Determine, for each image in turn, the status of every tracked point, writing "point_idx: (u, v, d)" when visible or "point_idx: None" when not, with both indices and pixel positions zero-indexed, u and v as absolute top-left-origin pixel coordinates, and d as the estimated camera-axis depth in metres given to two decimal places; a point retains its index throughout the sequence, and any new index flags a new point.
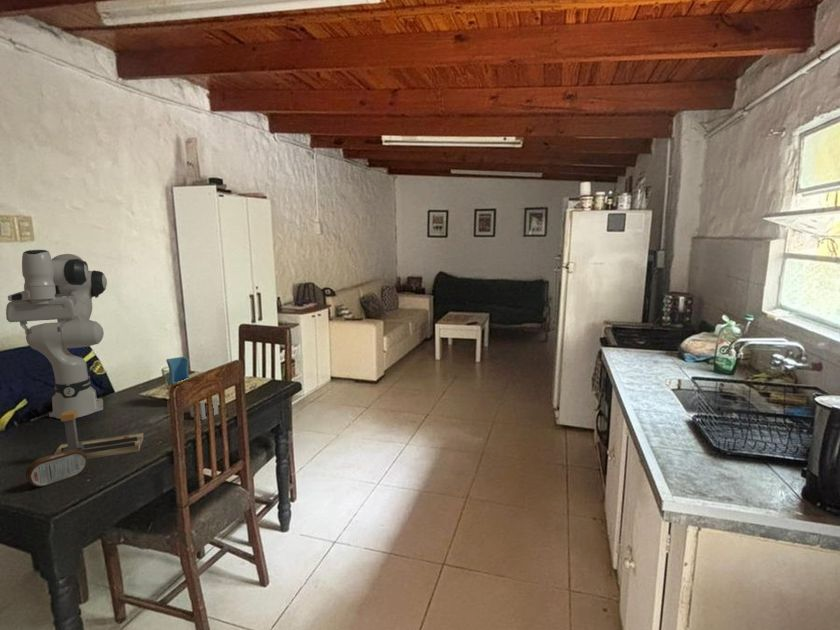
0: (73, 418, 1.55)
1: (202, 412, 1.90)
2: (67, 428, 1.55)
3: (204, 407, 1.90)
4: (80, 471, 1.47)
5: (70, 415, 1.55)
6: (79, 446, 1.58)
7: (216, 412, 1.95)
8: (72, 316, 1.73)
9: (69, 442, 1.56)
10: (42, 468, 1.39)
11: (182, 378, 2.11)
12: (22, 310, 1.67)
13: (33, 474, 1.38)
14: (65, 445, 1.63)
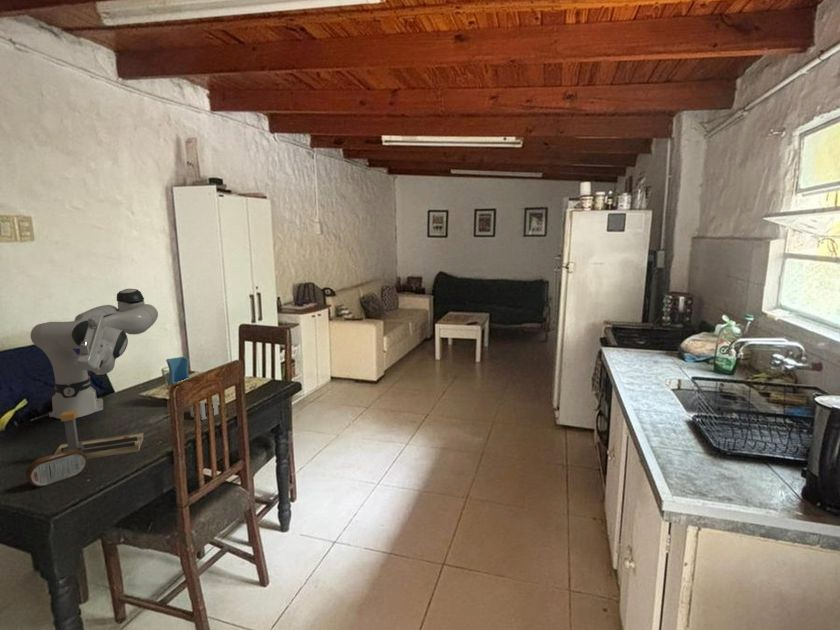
0: (73, 418, 1.55)
1: (202, 412, 1.90)
2: (67, 428, 1.55)
3: (204, 407, 1.90)
4: (80, 471, 1.47)
5: (70, 415, 1.55)
6: (79, 446, 1.58)
7: (216, 412, 1.95)
8: None
9: (69, 442, 1.56)
10: (42, 468, 1.39)
11: (182, 378, 2.11)
12: None
13: (33, 474, 1.38)
14: (65, 445, 1.63)
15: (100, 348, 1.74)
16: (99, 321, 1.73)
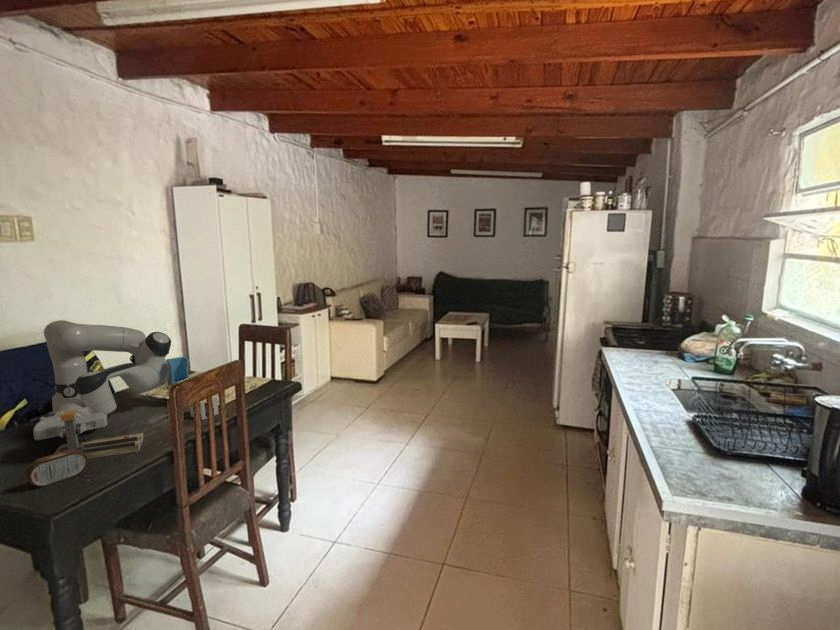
0: (73, 418, 1.55)
1: (202, 412, 1.90)
2: (67, 428, 1.55)
3: (204, 407, 1.90)
4: (80, 471, 1.47)
5: (70, 415, 1.55)
6: (79, 446, 1.58)
7: (216, 412, 1.95)
8: (103, 417, 1.66)
9: (69, 442, 1.56)
10: (42, 468, 1.39)
11: (182, 378, 2.11)
12: (52, 423, 1.60)
13: (33, 474, 1.38)
14: (65, 445, 1.63)
15: None
16: (96, 427, 1.64)
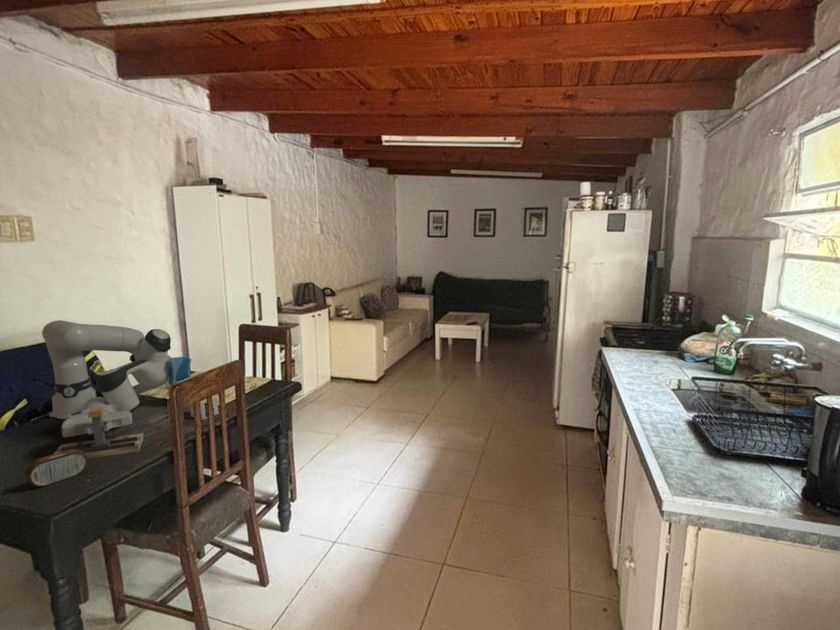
0: (100, 414, 1.58)
1: (202, 412, 1.90)
2: (94, 424, 1.58)
3: (204, 407, 1.90)
4: (80, 471, 1.47)
5: (98, 411, 1.57)
6: (106, 442, 1.61)
7: (216, 412, 1.95)
8: (129, 414, 1.68)
9: (96, 438, 1.59)
10: (42, 468, 1.39)
11: (183, 378, 2.11)
12: (79, 421, 1.62)
13: (33, 474, 1.38)
14: (65, 445, 1.63)
15: None
16: (122, 425, 1.67)
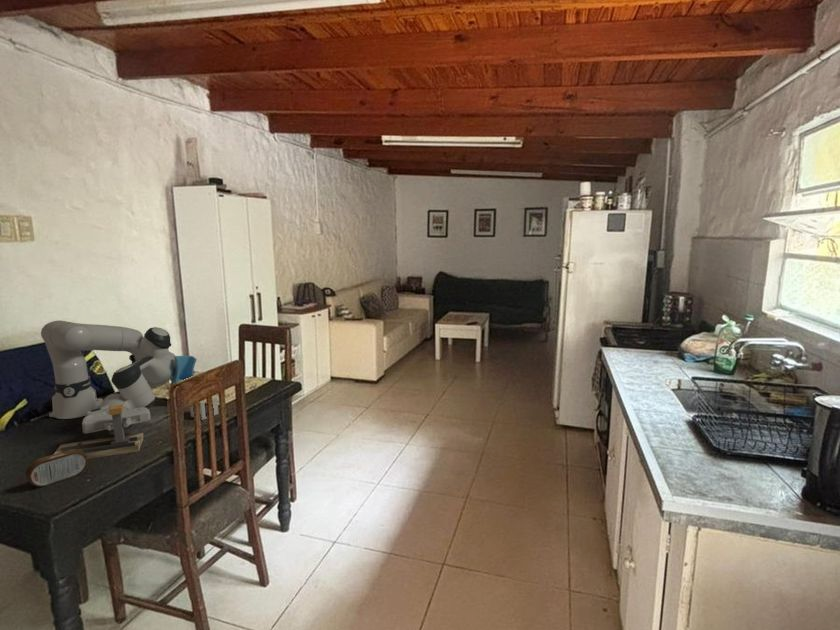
0: (120, 412, 1.60)
1: (202, 412, 1.90)
2: (115, 422, 1.60)
3: (204, 407, 1.90)
4: (80, 471, 1.47)
5: (118, 409, 1.60)
6: (125, 439, 1.63)
7: (216, 412, 1.95)
8: (147, 411, 1.71)
9: (116, 435, 1.61)
10: (42, 468, 1.39)
11: (186, 377, 2.12)
12: (98, 417, 1.65)
13: (33, 474, 1.38)
14: (65, 445, 1.63)
15: None
16: (141, 421, 1.69)
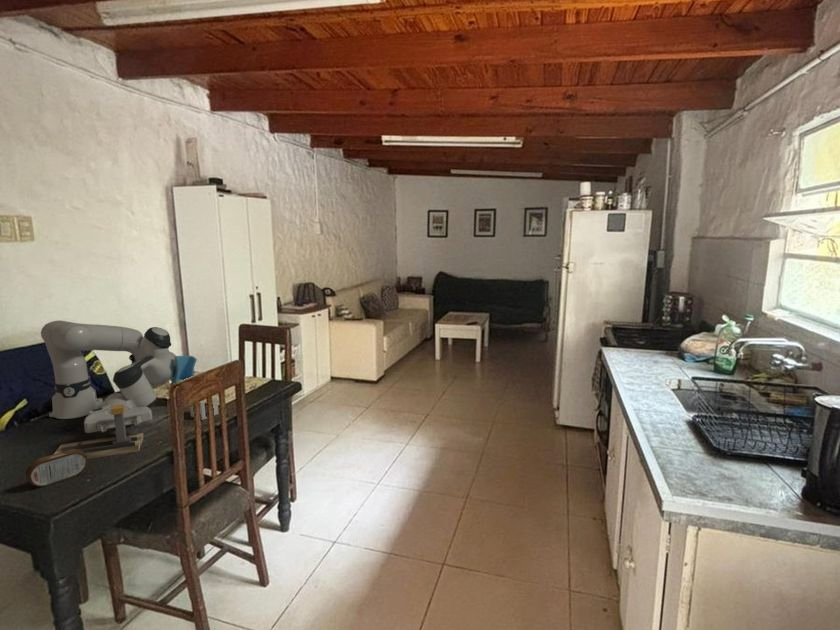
0: (122, 412, 1.60)
1: (202, 412, 1.90)
2: (116, 421, 1.61)
3: (204, 407, 1.90)
4: (80, 471, 1.47)
5: (119, 409, 1.60)
6: (127, 439, 1.63)
7: (216, 412, 1.95)
8: (149, 411, 1.71)
9: (118, 435, 1.61)
10: (42, 468, 1.39)
11: (186, 377, 2.12)
12: (100, 417, 1.65)
13: (33, 474, 1.38)
14: (65, 445, 1.63)
15: None
16: (142, 421, 1.69)
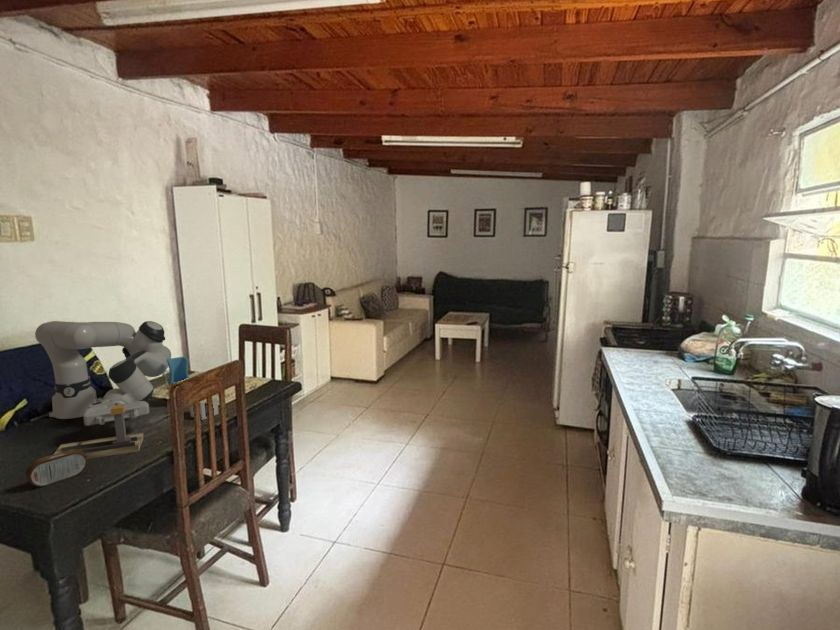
0: (122, 412, 1.60)
1: (202, 412, 1.90)
2: (116, 421, 1.61)
3: (204, 407, 1.90)
4: (80, 471, 1.47)
5: (119, 409, 1.60)
6: (127, 439, 1.63)
7: (216, 412, 1.95)
8: (146, 405, 1.77)
9: (118, 435, 1.61)
10: (42, 468, 1.39)
11: (182, 378, 2.11)
12: (99, 410, 1.72)
13: (33, 474, 1.38)
14: (65, 445, 1.63)
15: None
16: (140, 414, 1.76)
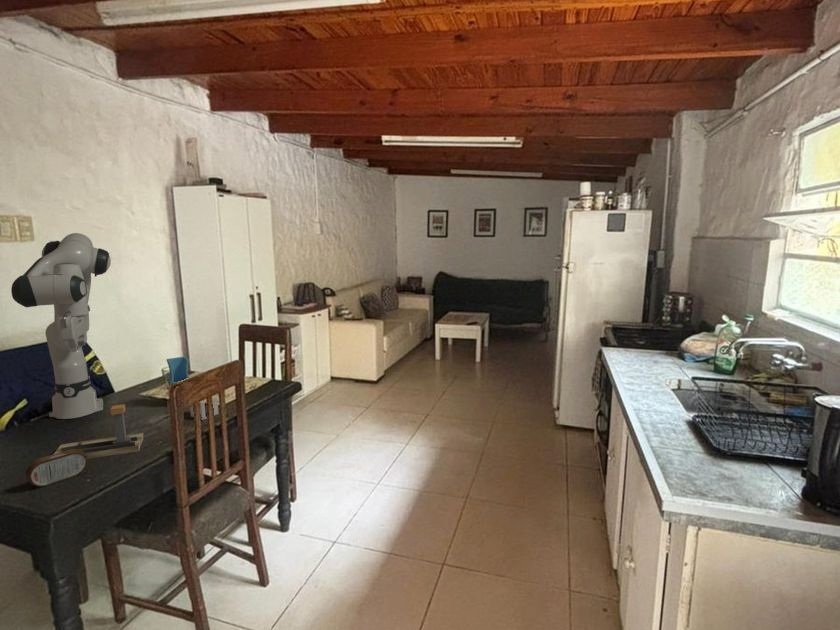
0: (122, 412, 1.60)
1: (202, 412, 1.90)
2: (116, 421, 1.61)
3: (204, 407, 1.90)
4: (80, 471, 1.47)
5: (119, 409, 1.60)
6: (127, 439, 1.63)
7: (216, 412, 1.95)
8: (62, 339, 1.57)
9: (118, 435, 1.61)
10: (42, 468, 1.39)
11: (182, 378, 2.11)
12: None
13: (33, 474, 1.38)
14: (65, 445, 1.63)
15: None
16: (75, 339, 1.60)
